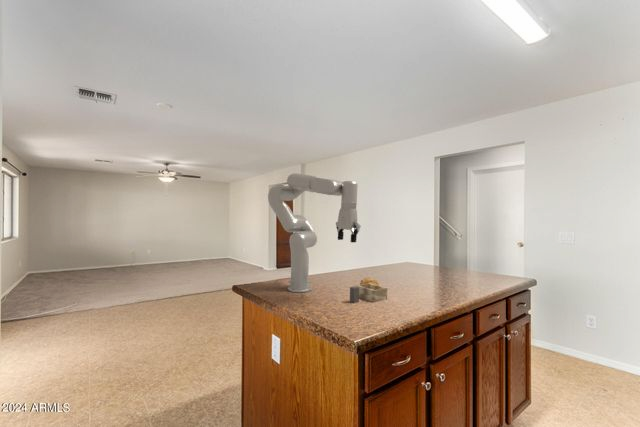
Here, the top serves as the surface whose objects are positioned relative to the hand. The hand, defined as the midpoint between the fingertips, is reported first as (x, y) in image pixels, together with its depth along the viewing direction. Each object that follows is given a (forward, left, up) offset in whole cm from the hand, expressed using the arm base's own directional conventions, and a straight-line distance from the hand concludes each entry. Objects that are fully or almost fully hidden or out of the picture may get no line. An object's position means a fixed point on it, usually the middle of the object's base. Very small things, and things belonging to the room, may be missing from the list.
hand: (346, 240), depth 158 cm
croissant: (-5, +21, -29) cm, 36 cm away
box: (+9, +9, -28) cm, 31 cm away
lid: (+8, -2, -29) cm, 30 cm away
